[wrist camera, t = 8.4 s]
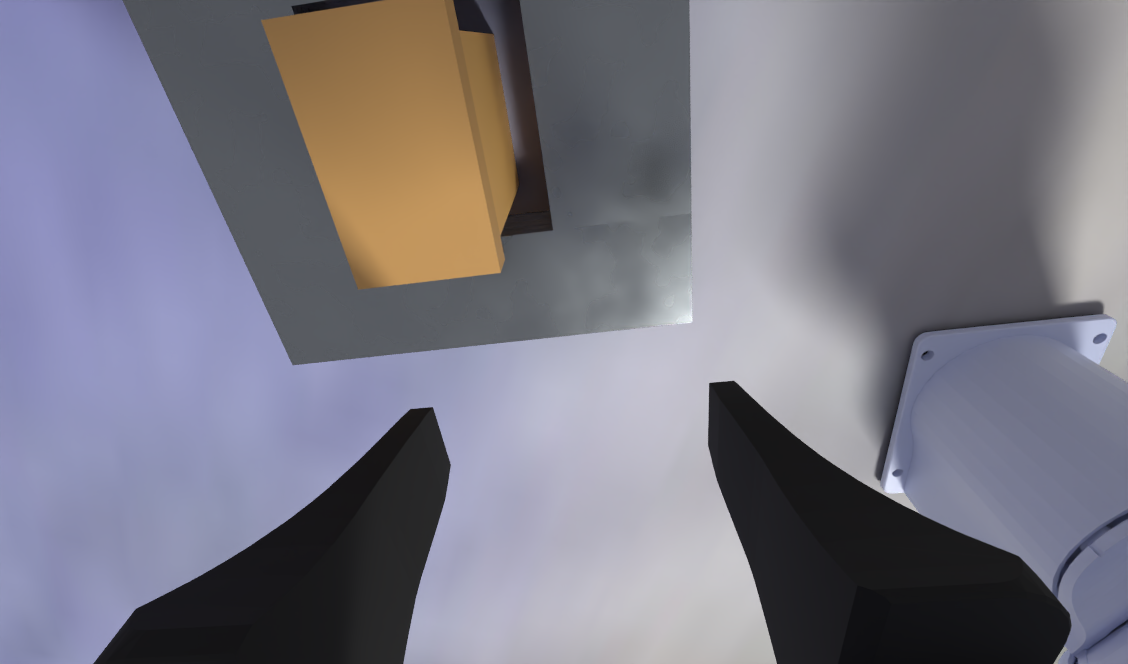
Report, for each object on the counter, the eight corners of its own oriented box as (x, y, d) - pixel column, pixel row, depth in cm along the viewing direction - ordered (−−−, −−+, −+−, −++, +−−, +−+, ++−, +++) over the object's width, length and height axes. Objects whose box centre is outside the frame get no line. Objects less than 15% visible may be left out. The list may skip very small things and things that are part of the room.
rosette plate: (680, 294, 22) (692, 322, 19) (319, 334, 23) (292, 365, 21) (668, -237, 14) (686, -289, 12) (122, -133, 15) (46, -163, 13)
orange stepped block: (522, 202, 20) (500, 272, 14) (422, 215, 20) (358, 289, 14) (489, 9, 17) (442, -10, 11) (372, 28, 17) (261, 20, 11)
